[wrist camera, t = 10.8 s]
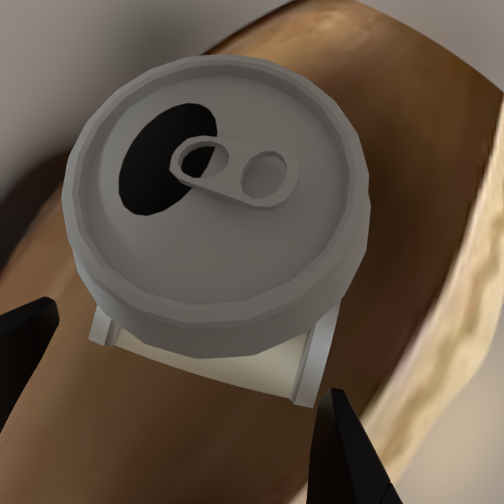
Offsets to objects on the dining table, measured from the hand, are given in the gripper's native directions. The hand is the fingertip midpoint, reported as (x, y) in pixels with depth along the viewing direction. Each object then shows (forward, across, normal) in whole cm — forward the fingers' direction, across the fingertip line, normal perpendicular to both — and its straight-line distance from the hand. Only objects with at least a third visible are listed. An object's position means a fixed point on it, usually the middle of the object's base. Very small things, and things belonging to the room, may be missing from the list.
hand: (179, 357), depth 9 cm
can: (+8, 0, +3) cm, 9 cm away
